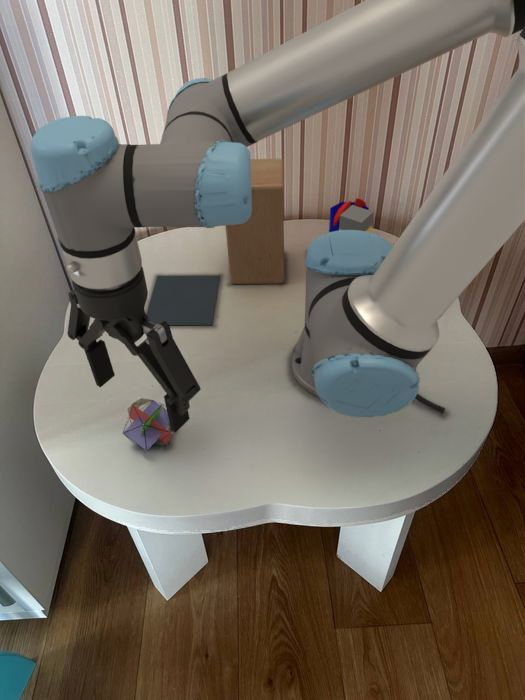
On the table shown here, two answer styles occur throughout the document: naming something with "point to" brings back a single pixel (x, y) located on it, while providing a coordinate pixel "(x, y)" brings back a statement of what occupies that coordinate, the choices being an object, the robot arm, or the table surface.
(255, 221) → the wooden block
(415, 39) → the robot arm
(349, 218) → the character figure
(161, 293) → the mat
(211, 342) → the table surface
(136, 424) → the geometric puzzle
